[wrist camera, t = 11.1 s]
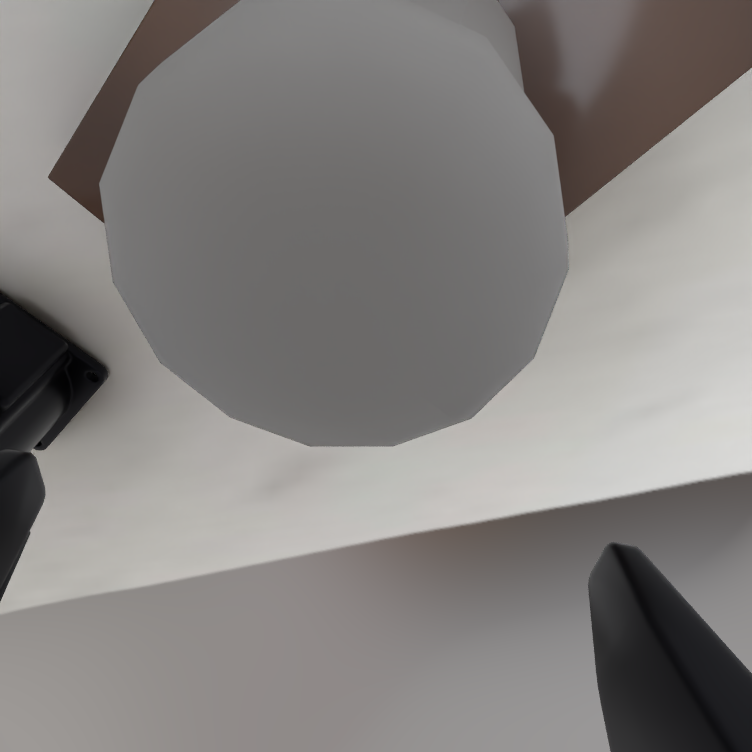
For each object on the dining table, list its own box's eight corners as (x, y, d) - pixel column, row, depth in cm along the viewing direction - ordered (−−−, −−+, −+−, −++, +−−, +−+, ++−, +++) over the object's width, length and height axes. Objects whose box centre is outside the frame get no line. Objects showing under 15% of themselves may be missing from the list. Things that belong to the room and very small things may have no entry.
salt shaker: (310, 195, 17) (98, 532, 7) (279, -37, 14) (-239, -122, 3) (506, 186, 16) (627, 547, 6) (520, -61, 13) (845, -261, 3)
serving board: (336, 379, 23) (329, 406, 22) (76, 163, 19) (46, 177, 18) (868, -60, 14) (918, -65, 13) (589, -654, 10) (615, -766, 9)
